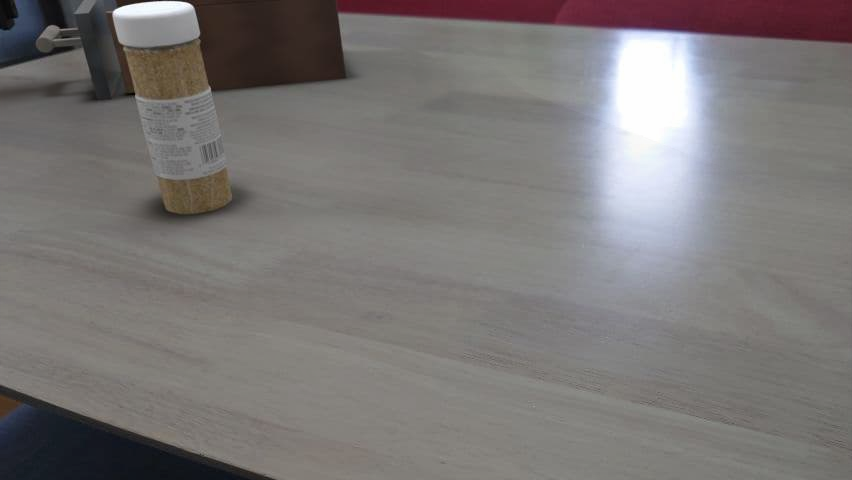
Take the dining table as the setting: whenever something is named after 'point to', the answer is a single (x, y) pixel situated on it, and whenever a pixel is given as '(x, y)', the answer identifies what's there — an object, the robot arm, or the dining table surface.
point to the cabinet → (268, 42)
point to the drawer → (95, 45)
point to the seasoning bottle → (175, 104)
